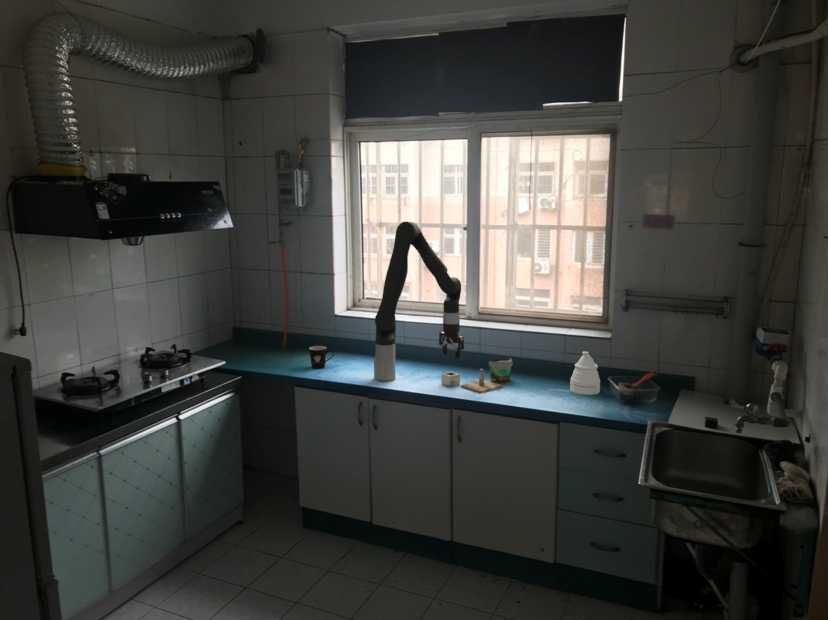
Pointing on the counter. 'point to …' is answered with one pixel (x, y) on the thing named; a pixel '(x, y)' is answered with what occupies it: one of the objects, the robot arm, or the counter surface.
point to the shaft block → (481, 384)
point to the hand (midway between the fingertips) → (451, 356)
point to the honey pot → (585, 376)
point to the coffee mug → (318, 356)
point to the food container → (500, 371)
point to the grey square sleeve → (450, 379)
